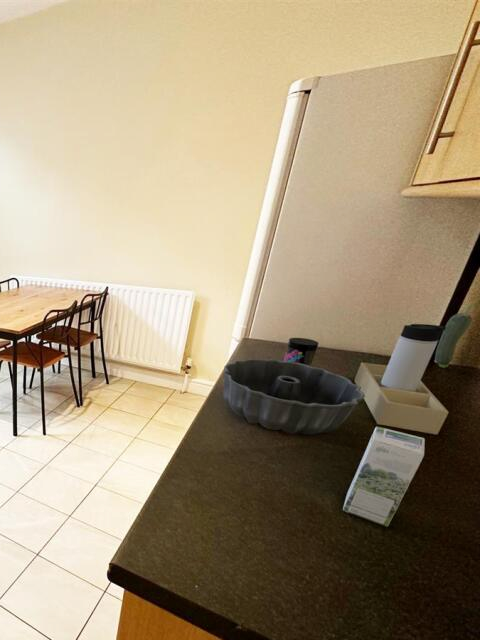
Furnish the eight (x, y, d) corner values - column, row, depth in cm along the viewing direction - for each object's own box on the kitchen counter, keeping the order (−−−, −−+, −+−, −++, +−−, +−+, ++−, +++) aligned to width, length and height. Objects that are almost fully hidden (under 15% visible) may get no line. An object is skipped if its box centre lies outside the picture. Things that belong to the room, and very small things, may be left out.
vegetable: (427, 366, 124) (457, 300, 116) (428, 362, 126) (457, 297, 118) (449, 370, 121) (481, 302, 113) (450, 366, 123) (481, 300, 115)
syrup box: (390, 510, 69) (426, 436, 63) (387, 529, 66) (426, 452, 60) (346, 495, 73) (376, 424, 67) (341, 512, 69) (372, 438, 63)
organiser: (401, 387, 111) (410, 368, 109) (437, 434, 90) (448, 412, 88) (354, 380, 116) (361, 362, 114) (377, 424, 95) (386, 402, 92)
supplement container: (278, 369, 126) (287, 336, 121) (305, 372, 122) (316, 339, 118) (280, 377, 120) (290, 343, 116) (309, 381, 117) (320, 346, 113)
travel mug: (399, 409, 99) (435, 329, 91) (368, 398, 105) (398, 321, 97) (417, 405, 100) (453, 326, 92) (385, 394, 106) (417, 319, 98)
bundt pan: (383, 444, 87) (401, 402, 83) (258, 448, 87) (270, 406, 83) (292, 391, 111) (303, 356, 107) (194, 394, 111) (202, 360, 107)
